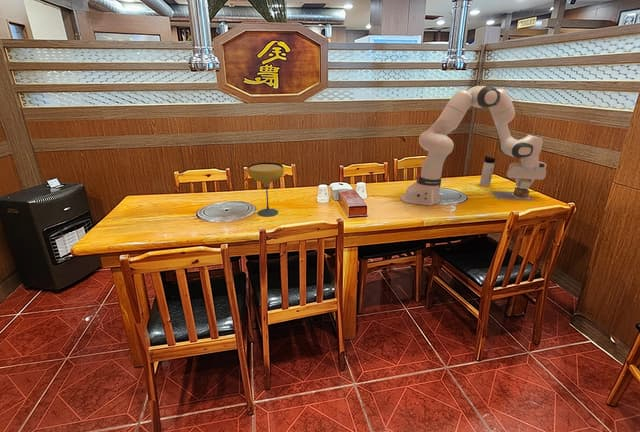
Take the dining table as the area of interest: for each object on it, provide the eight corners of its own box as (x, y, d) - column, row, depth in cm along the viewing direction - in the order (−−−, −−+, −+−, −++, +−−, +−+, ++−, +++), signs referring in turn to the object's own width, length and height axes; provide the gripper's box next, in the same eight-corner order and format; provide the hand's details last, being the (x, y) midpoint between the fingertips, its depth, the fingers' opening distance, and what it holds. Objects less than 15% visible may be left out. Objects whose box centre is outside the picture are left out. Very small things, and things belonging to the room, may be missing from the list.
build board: (497, 200, 204) (497, 198, 203) (489, 192, 217) (489, 190, 217) (533, 202, 201) (533, 200, 201) (523, 194, 215) (523, 192, 214)
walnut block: (517, 197, 206) (518, 190, 204) (513, 194, 211) (515, 187, 209) (527, 197, 205) (529, 190, 203) (523, 194, 210) (525, 187, 209)
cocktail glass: (287, 206, 191) (285, 162, 181) (282, 219, 174) (280, 171, 165) (254, 206, 192) (251, 162, 182) (247, 219, 175) (243, 171, 165)
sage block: (519, 188, 204) (521, 182, 202) (516, 185, 209) (518, 179, 207) (528, 189, 203) (530, 182, 202) (525, 186, 208) (526, 180, 206)
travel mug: (478, 184, 231) (484, 155, 224) (489, 185, 229) (495, 156, 222) (479, 187, 226) (484, 157, 218) (490, 188, 224) (496, 158, 216)
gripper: (511, 163, 199) (506, 186, 204) (549, 165, 196) (543, 188, 201) (507, 160, 204) (502, 183, 210) (544, 162, 202) (538, 184, 207)
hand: (523, 185), depth 205 cm, fingers closed on sage block, 5 cm apart
